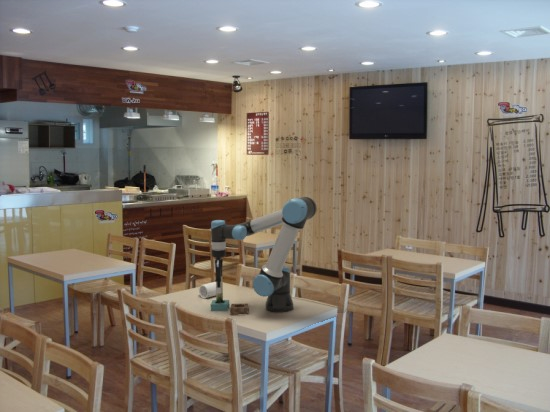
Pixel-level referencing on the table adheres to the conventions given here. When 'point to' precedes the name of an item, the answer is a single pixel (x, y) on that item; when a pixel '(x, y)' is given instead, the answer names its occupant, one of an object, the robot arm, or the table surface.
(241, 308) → the mount block
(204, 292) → the mug
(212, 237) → the robot arm
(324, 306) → the table surface
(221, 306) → the socket block
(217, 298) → the pin
